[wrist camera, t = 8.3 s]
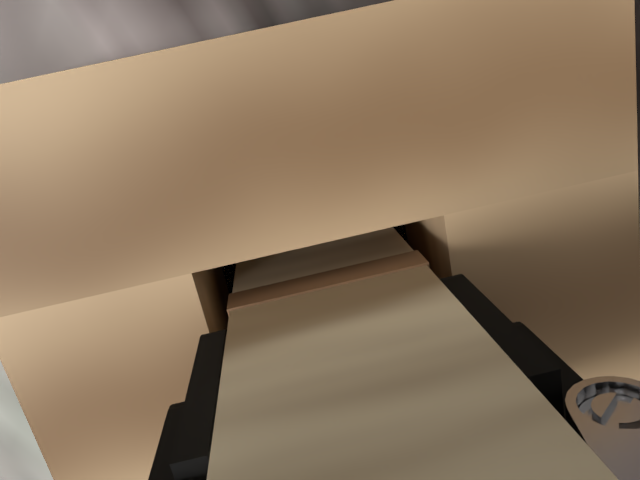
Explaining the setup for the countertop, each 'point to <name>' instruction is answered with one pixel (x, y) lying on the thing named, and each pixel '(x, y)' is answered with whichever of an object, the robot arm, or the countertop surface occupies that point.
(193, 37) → the countertop surface
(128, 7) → the countertop surface
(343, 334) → the peg
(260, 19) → the countertop surface
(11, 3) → the countertop surface
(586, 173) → the seat board
